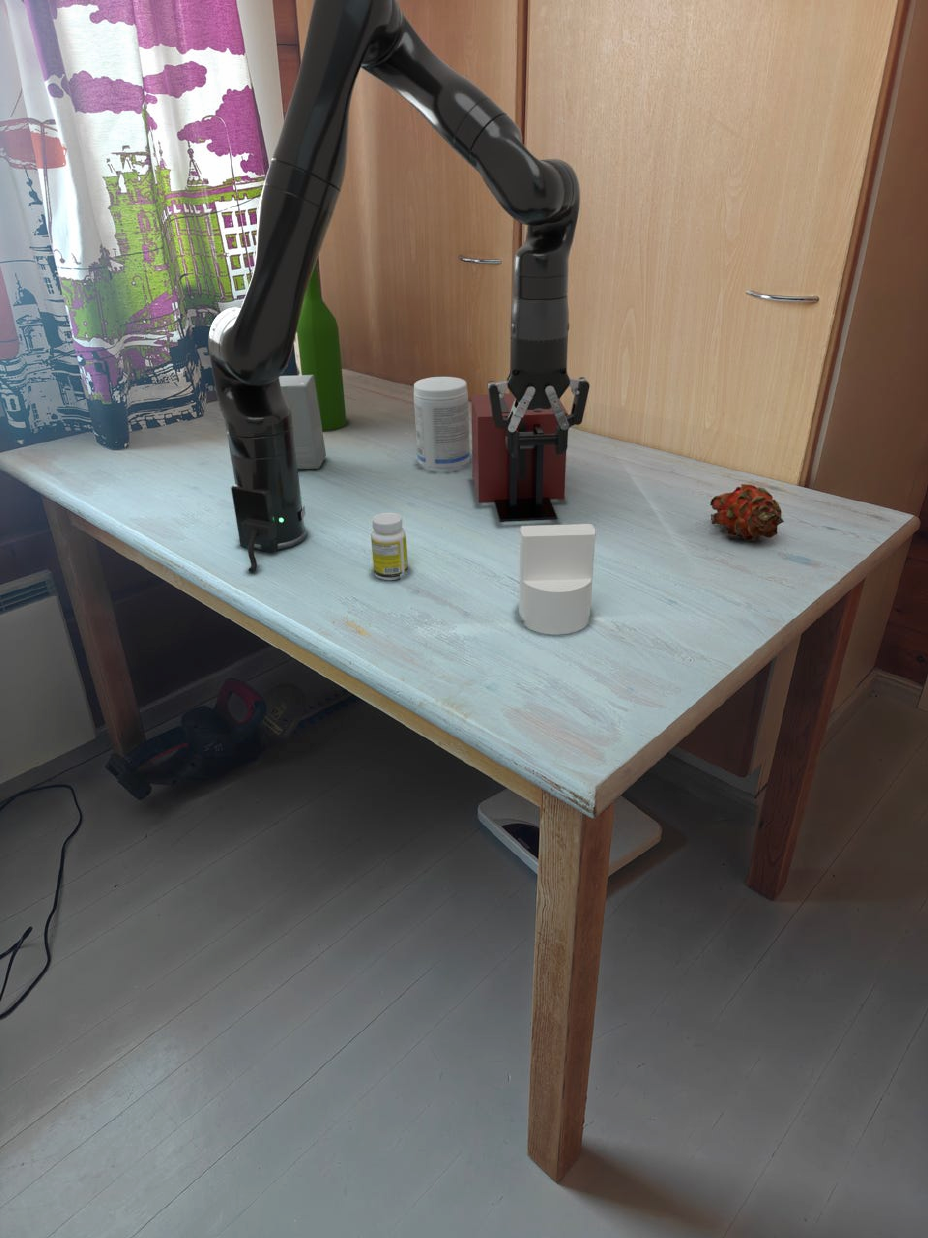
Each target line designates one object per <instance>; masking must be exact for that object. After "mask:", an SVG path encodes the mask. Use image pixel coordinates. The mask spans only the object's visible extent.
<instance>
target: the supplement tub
mask: <svg viewBox="0 0 928 1238" xmlns="http://www.w3.org/2000/svg"><path fill="white" fill-rule="evenodd" d="M467 385H468V384H467V381H466V380H465V379H463V378H461V377H460V378H459V377H456V376H455V377H454V376H433V377H426V378H423V379H419V380H417V381H416V382H415V383H413V407H414V421H415V423H414V424H415V436H416V437H415V438H416V451H417V453H416V454H417V462H418V463H419V464H420V465H422V466H424V467H427V468H432V469H453V468H458V467H459V468H460V467H461V466H464V465H466V464H468V463H469V462H470V460H471V449H470V448H471V446H470V445H471V443H470V415H469V414H470V413H469V392H468V386H467Z"/></svg>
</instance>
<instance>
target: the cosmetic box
mask: <svg viewBox="0 0 928 1238" xmlns="http://www.w3.org/2000/svg"><path fill="white" fill-rule="evenodd" d="M279 381H280V385H281V389H282V392H283V394H284V397H285V399H286V401H287V403H288V405H289V407H290V410H291V416H292V425H293V433H294V442H295V451H296V459H297V468H298V470H319V469H320V467H321V465H322V464H323V462H324V461H325V459H326V456H327V453H326V446H325V439H324V438H325V437H324V431H322V425H321V419H320V412H319V405H318V399H317V392H316V386H315V379H314V375H298V376H297V375H281V376H280V377H279Z"/></svg>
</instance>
